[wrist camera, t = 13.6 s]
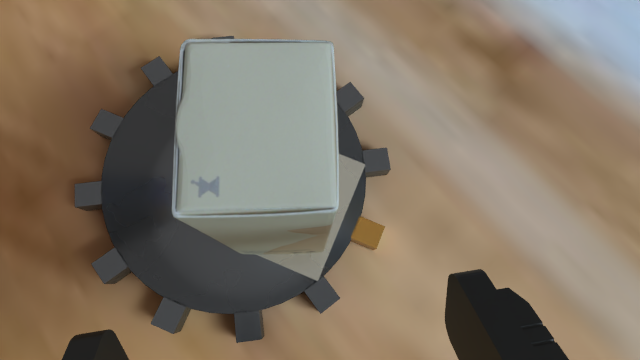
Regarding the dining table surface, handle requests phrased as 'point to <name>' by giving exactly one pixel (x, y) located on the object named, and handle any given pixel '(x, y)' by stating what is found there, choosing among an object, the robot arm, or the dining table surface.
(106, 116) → the sprocket
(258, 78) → the box
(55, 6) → the dining table surface
